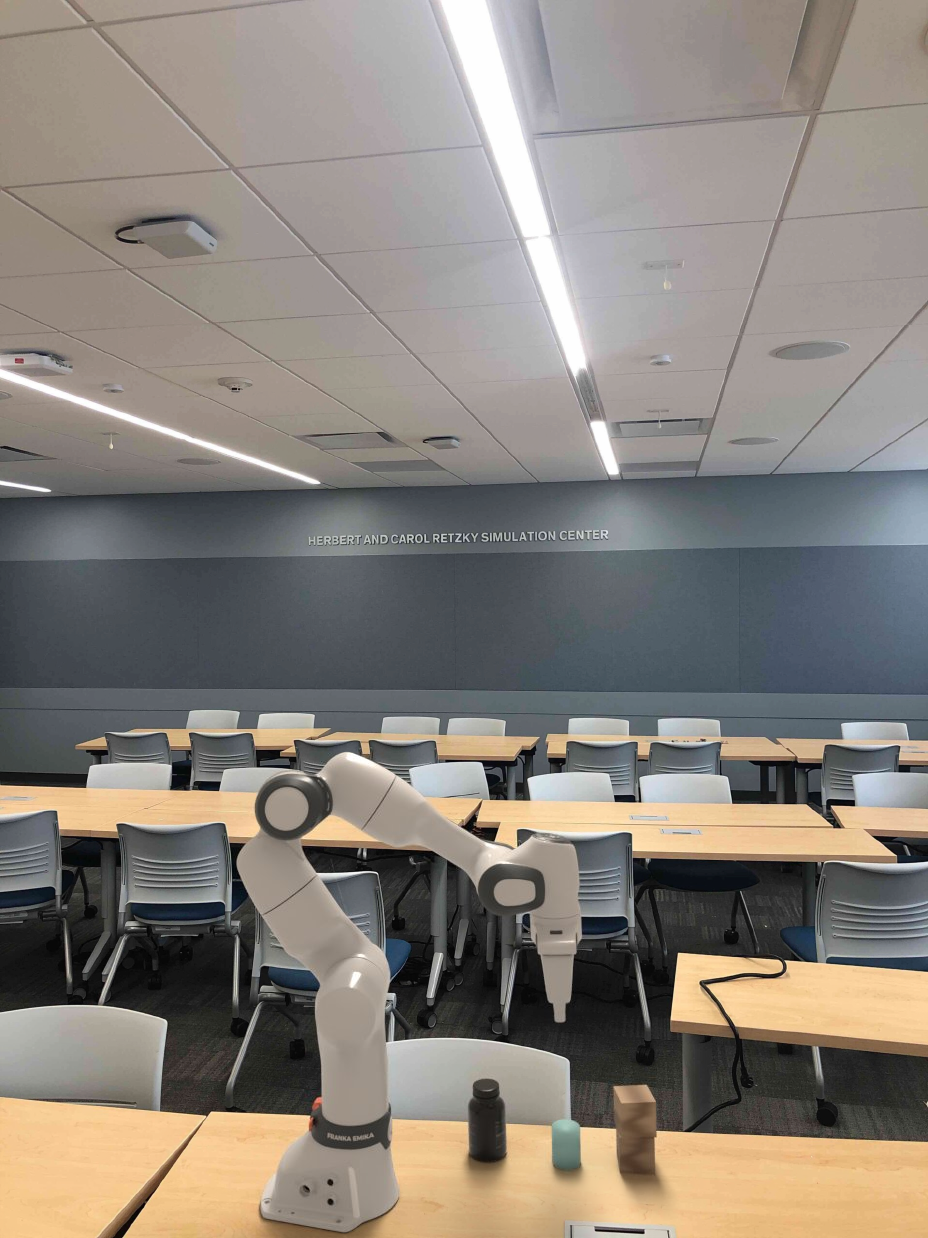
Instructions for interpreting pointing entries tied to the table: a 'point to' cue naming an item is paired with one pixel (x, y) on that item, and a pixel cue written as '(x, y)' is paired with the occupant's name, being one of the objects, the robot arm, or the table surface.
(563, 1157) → the teal rounded cylinder
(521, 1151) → the table surface
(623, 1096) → the tower top
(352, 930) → the robot arm
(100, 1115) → the table surface
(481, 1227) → the table surface
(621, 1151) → the tower base
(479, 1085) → the supplement bottle
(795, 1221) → the table surface
